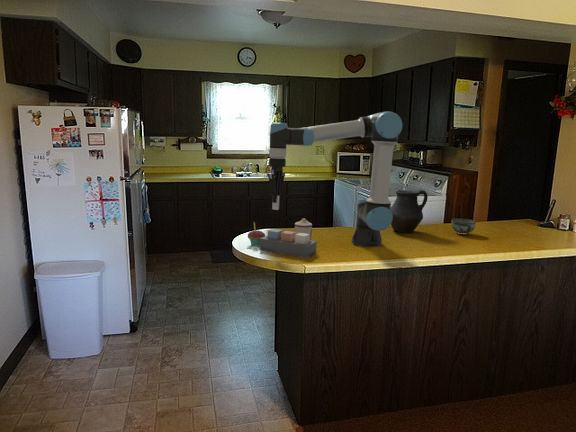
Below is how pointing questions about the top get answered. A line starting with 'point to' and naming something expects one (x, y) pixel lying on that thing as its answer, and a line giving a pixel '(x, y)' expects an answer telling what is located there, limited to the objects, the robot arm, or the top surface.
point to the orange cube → (288, 236)
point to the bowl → (463, 225)
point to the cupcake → (255, 236)
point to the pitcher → (407, 210)
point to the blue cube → (274, 234)
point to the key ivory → (302, 238)
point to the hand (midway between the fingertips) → (275, 209)
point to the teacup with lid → (303, 227)
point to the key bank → (288, 247)
